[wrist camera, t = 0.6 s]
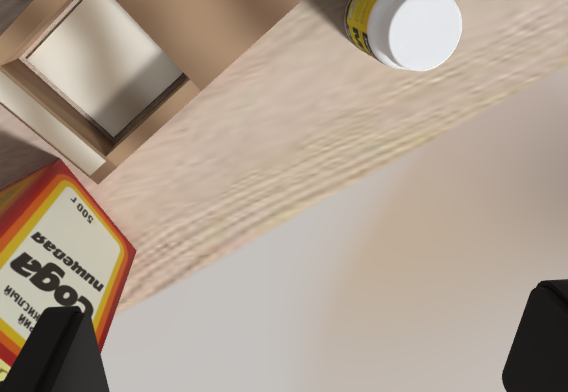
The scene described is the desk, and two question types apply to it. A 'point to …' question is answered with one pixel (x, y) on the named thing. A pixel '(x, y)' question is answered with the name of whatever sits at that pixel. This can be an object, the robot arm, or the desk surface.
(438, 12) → the supplement bottle
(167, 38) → the wooden tray
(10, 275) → the baking soda box
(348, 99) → the desk surface
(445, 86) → the desk surface
